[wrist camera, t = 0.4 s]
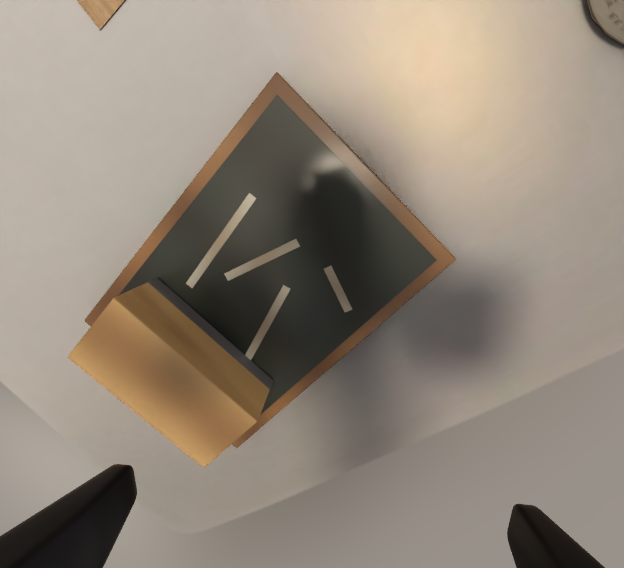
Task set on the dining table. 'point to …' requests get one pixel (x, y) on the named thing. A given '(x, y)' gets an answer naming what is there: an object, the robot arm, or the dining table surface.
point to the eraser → (174, 370)
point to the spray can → (609, 17)
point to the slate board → (287, 246)
